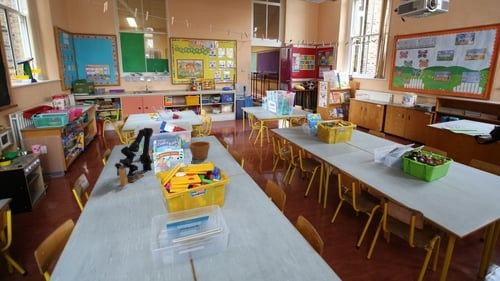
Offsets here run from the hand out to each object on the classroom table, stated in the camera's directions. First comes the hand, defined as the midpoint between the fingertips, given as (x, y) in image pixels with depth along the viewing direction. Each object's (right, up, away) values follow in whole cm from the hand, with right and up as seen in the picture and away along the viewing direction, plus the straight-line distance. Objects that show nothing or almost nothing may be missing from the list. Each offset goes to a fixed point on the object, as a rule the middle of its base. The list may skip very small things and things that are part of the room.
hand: (122, 176), depth 227 cm
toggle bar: (0, -7, +3) cm, 7 cm away
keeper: (+3, -4, +14) cm, 14 cm away
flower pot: (+51, +11, +65) cm, 84 cm away
